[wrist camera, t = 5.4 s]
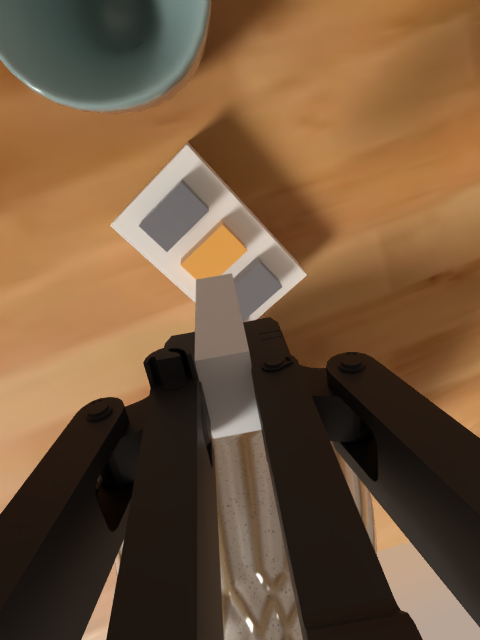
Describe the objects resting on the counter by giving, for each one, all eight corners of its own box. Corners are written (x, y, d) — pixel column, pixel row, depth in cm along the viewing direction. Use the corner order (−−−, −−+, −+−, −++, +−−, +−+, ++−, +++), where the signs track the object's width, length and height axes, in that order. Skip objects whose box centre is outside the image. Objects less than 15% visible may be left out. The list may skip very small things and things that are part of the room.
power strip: (118, 214, 26) (105, 230, 22) (187, 141, 25) (186, 145, 21) (231, 318, 30) (236, 347, 26) (296, 260, 28) (311, 282, 25)
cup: (186, -83, 20) (179, -245, 11) (219, 99, 24) (234, 87, 15) (25, -50, 20) (-113, -186, 11) (82, 127, 24) (11, 133, 15)
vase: (373, 415, 34) (569, 745, 16) (244, 530, 38) (286, 892, 21) (219, 302, 29) (257, 609, 11) (89, 451, 33) (-38, 847, 15)
